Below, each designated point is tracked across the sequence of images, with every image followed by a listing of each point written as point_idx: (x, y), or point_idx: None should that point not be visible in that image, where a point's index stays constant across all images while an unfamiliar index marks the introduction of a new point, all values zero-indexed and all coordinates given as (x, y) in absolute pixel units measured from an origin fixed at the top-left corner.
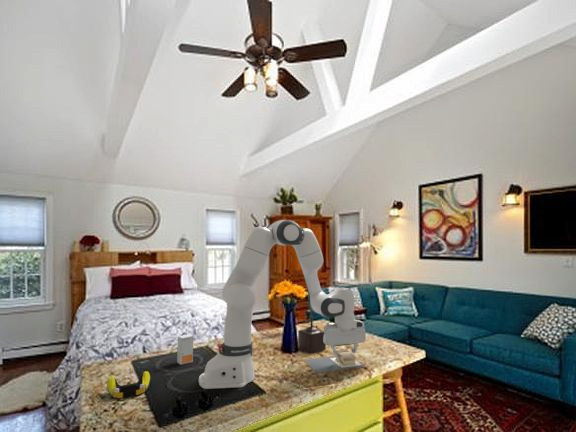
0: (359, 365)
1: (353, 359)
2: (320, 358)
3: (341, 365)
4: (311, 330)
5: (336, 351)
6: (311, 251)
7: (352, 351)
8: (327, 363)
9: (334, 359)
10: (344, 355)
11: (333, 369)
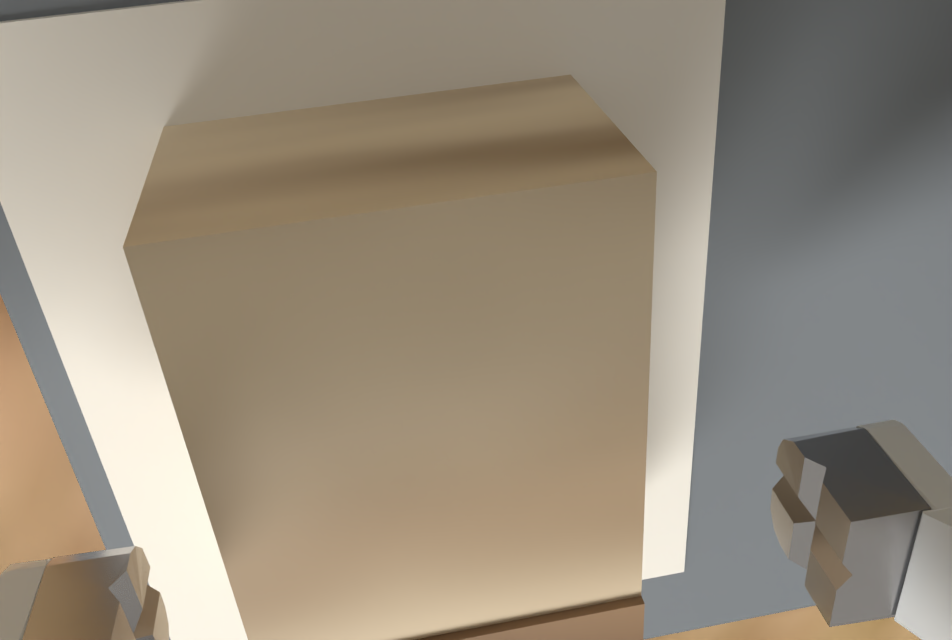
0: (40, 5)
1: (231, 183)
2: None
3: (650, 105)
4: None
5: (882, 498)
6: None
7: (141, 619)
8: (905, 309)
9: None
10: (545, 378)
11: None
